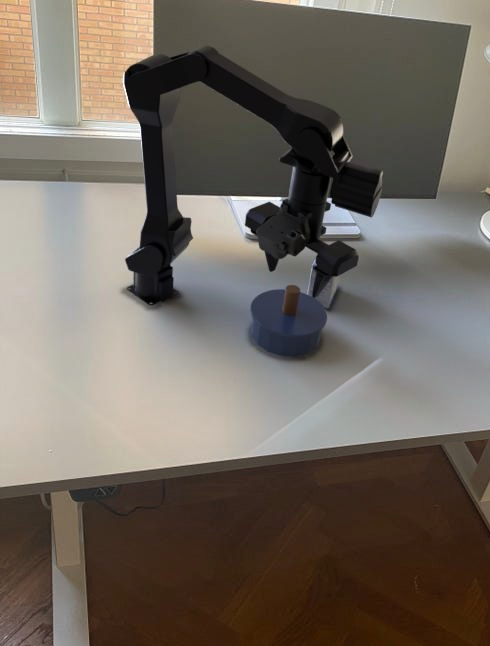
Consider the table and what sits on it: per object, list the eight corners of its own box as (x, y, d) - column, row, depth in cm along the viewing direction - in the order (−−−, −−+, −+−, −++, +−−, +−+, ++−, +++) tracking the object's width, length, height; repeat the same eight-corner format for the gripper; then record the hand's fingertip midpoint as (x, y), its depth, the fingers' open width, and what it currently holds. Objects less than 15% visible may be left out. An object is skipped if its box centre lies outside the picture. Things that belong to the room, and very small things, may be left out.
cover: (233, 312, 118) (236, 284, 114) (284, 285, 127) (289, 258, 123) (292, 350, 113) (297, 322, 110) (341, 320, 122) (347, 293, 118)
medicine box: (328, 309, 131) (336, 270, 126) (304, 303, 132) (312, 263, 126) (337, 288, 138) (346, 249, 132) (315, 281, 138) (322, 242, 132)
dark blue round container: (236, 333, 121) (239, 309, 118) (282, 308, 129) (286, 285, 126) (288, 368, 116) (293, 344, 113) (332, 340, 124) (337, 317, 121)
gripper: (223, 183, 104) (216, 273, 114) (322, 239, 97) (305, 330, 107) (275, 166, 112) (263, 252, 121) (370, 216, 105) (349, 303, 114)
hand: (293, 283), depth 116 cm, fingers open, 9 cm apart
